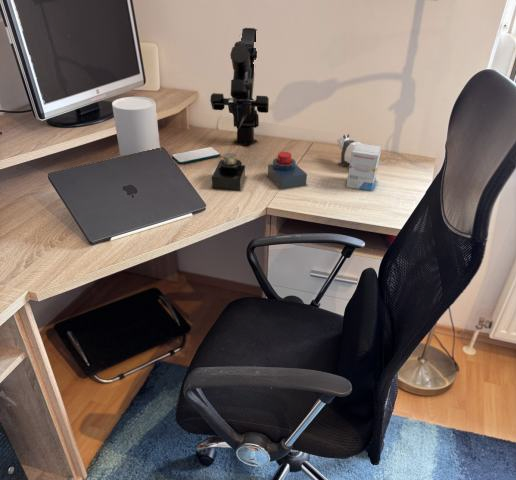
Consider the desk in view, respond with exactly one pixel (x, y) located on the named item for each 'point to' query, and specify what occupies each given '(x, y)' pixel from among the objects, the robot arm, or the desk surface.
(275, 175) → the box
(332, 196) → the desk surface
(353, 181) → the ink box
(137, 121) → the canister
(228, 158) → the light button
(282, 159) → the button
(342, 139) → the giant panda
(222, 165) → the light box
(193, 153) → the smartphone
